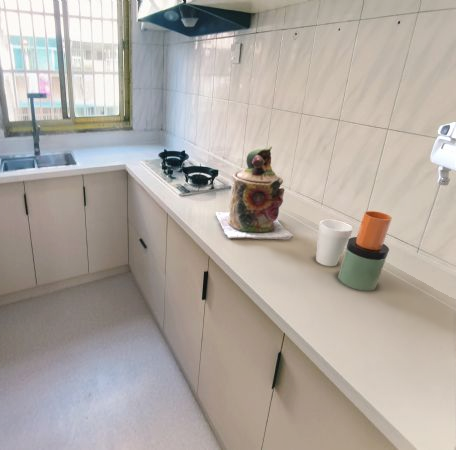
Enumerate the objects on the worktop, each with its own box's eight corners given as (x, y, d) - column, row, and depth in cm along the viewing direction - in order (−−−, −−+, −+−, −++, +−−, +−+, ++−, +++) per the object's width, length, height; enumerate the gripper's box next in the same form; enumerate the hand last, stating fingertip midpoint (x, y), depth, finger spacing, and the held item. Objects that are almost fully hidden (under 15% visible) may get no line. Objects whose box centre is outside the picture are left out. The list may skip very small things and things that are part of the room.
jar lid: (376, 244, 101) (378, 238, 100) (394, 261, 91) (396, 254, 91) (341, 241, 102) (342, 235, 101) (355, 257, 92) (357, 251, 92)
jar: (366, 273, 105) (377, 240, 100) (382, 292, 96) (395, 256, 91) (332, 270, 106) (342, 237, 101) (345, 289, 96) (356, 253, 92)
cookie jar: (213, 215, 145) (222, 139, 132) (269, 215, 147) (283, 141, 134) (228, 240, 123) (240, 152, 110) (293, 241, 124) (313, 154, 111)
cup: (374, 240, 98) (384, 211, 95) (385, 250, 92) (396, 220, 89) (351, 238, 99) (360, 210, 95) (361, 248, 93) (371, 218, 89)
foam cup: (313, 251, 117) (321, 217, 112) (342, 259, 113) (353, 223, 107) (309, 263, 109) (318, 226, 104) (340, 271, 105) (351, 234, 100)
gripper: (535, 140, 67) (504, 205, 73) (461, 126, 86) (441, 179, 91) (500, 138, 68) (472, 203, 73) (435, 125, 86) (416, 178, 92)
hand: (455, 190), depth 82 cm, fingers open, 8 cm apart
